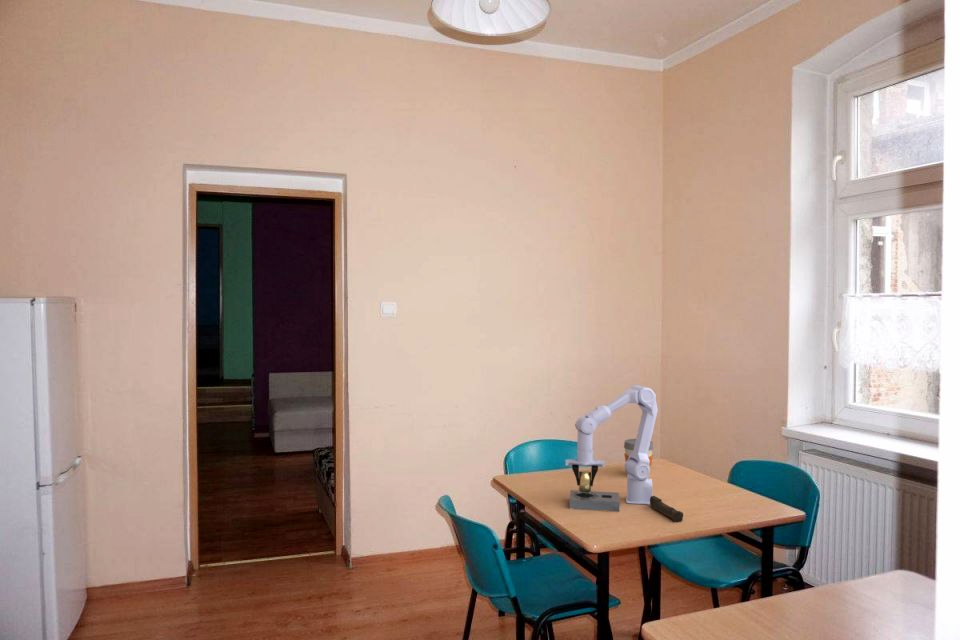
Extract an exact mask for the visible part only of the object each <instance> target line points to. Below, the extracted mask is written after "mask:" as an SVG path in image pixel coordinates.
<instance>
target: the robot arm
mask: <svg viewBox="0 0 960 640" xmlns="http://www.w3.org/2000/svg"><path fill="white" fill-rule="evenodd" d="M656 398H657V395H656V393H655V391H653V389H652V388H650V387H645V386H641V385H639V384H634V385H632V386H631V387H629V388H627V389H626V390H625V391H624V392H623V393H621V394H620V395H618V396H617V397H616V398H614V399H613V400H612V401H610V402H609V403H608V404H606V405H596V406H595V408H594V409H593V410H592V411H590V412H589V413H585V416H580V417H579V418H577V420H576V422H575V424H574V427H575V430H577V445H576V446H577V456H576V457H577V458H576V459H573V458H572V459H571V458H570V459H567V458H566V459H565V466H568V467H569V466H571V469H572V472H573V474H574V476H575V480H576V485H577V486H578V487H579V471H580V467H591V471H590V472H591V487H593V486H594V480H595V477H596V476H597V475H596V474H597V473H598V471H599V468H605V467H606V466H605V465H606V461H605V460H597V459H596V460H595V459H594V457H593V456H594V433H595V431H596V428H597V427H599V426H600V425H603V423H604V422H606V421H608V420H609V419H610V418H611V415H612V413H615V412H616V411H618V410H619V409H621V408H622V407H623V408H624V406H626V405H628V404H637V405H638V407H639V408H640V410H641V411H642V412H641V416H640V421H639V426H638V429H637V434H636V437H635V439H636V442H635V446H634V450H633V452H632V453H630V455H629V458H628V460H627V461H626V462H624V471H625V472H626V473H627V477H626V478H627V480H626V481H627V484H626V486H627V487H626V489H627V492H626V496H625V500H626V503H627V504H636V505H637V504H638V505H639V504H640V505H650V497H651V496H654V495H653V494H654V493H653V479H652V478H649V477H650V473H651V468H650V469H649V463H650V461H649V458H648V450H649V446H650V442H651V441H652V437H653V432H654V430H655V429H654V428H655V425H656V420H657V416H658V412H659V410H658V404H657V400H656ZM648 476H649V477H648Z"/></svg>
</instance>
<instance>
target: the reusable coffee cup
mask: <svg viewBox="0 0 960 640" xmlns="http://www.w3.org/2000/svg"><path fill="white" fill-rule="evenodd" d="M635 442H636V438H629V439H625V440H624V445H623V448H624V452H625V453H624V460H625V462H626V461H627V460H628V458H629V455H630V453H632V452H633V450H634V446H635ZM653 444H654V442H653V441H652V440H651V442H650V446H649V450H648V458H649V461H650V463H649V469H650V470H651V466H652V463H653V450H654V445H653ZM625 462H624V463H625Z"/></svg>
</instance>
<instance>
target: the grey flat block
mask: <svg viewBox="0 0 960 640" xmlns="http://www.w3.org/2000/svg"><path fill="white" fill-rule="evenodd" d="M569 493H570V494H569V509H570V508H574V509H573V510H584V509H589V510H588V511H602V510H607V511H606V512H620V506H621V505H620V495H619V492H616V491H615V492H614V491H611V492H610V491H593V490H591V492H580V491H579V489H578V490H576V489H572V490H571V489H570V492H569Z"/></svg>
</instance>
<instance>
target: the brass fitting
mask: <svg viewBox="0 0 960 640" xmlns="http://www.w3.org/2000/svg"><path fill="white" fill-rule="evenodd" d="M591 489H592V486H591V471H590V470H579V486H578V491H580V492H591V491H592V490H591Z"/></svg>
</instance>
